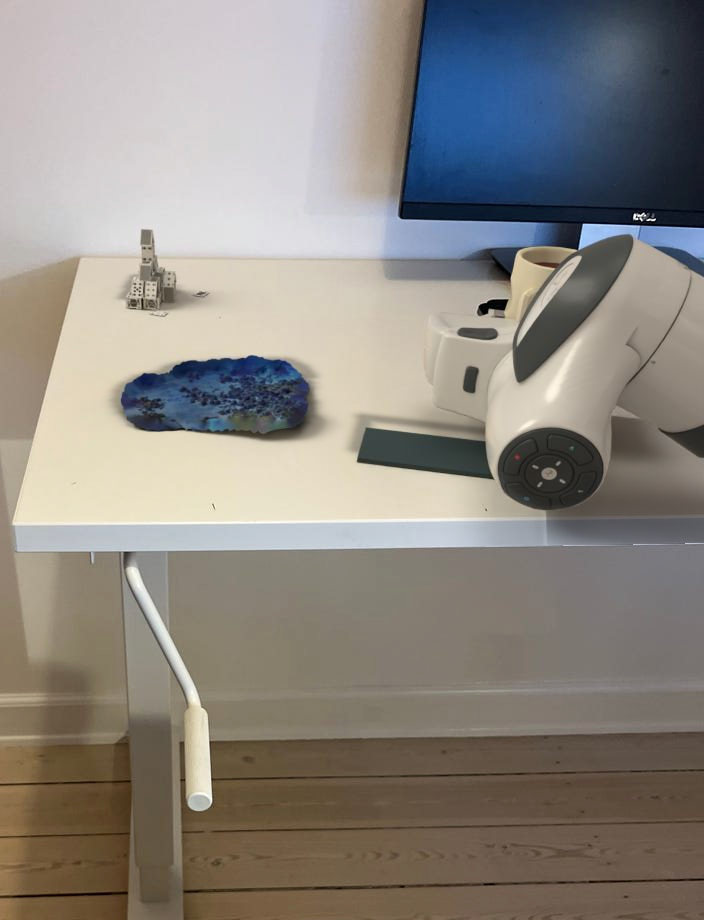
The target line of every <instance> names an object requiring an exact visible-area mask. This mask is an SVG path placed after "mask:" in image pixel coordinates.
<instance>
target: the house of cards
mask: <svg viewBox="0 0 704 920" xmlns="http://www.w3.org/2000/svg"><path fill="white" fill-rule="evenodd" d="M139 241H140V242H139V247H140V248H141V260H140V262H139V264H138V266H139V268H138V269H139V270H138V271H137V273H138V275H134V276H133V278H132V280H131V285H130V290H129V291H128V292H127V294H126V296H125V308H126V309H130V308H136V309H135V310H141V309H143V311H144V310H152V311H151V312H149V315H152V316H153V315H154V316H160V317H164V316H166V315H167V314H168V313H169V312H168V311H161V310H160V304H161V303H162V301H163V302H164V303H175V299H176V298H177V275H176V271H175V270H174V271H173V270H166V268H165V266H159V261H158V254H156V253H155V252H156V250H155V248H156V247H155V246H156V245H155V243H156V241H155V236H154V230H153V229H149V228H140V240H139ZM209 293H210V292H209V291H204V290H198V291H196V292H195V293H193V294H192V296H197V297H200V298H201V297H202V298H203V297H204V296H206V295H207V294H209ZM152 313H153V314H152Z"/></svg>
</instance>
